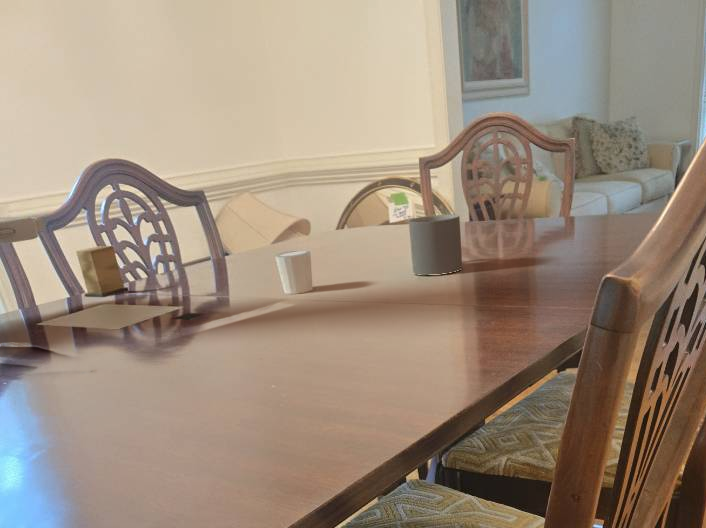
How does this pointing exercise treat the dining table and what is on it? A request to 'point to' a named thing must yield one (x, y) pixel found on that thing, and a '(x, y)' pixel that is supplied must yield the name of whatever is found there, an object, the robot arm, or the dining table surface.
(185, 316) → the smudge
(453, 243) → the coffee mug
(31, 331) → the dining table surface
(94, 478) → the dining table surface
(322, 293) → the dining table surface
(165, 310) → the note board
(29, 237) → the robot arm
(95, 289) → the eraser
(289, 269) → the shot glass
